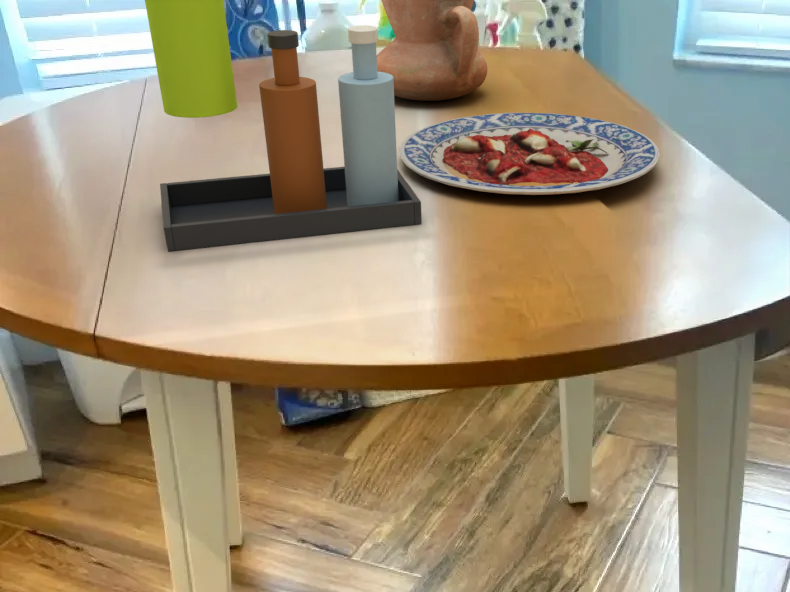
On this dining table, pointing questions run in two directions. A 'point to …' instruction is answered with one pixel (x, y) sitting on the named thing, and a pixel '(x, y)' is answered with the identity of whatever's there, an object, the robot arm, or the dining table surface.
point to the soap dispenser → (192, 57)
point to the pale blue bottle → (368, 124)
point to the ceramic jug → (432, 49)
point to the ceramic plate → (530, 153)
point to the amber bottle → (292, 130)
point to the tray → (270, 212)
